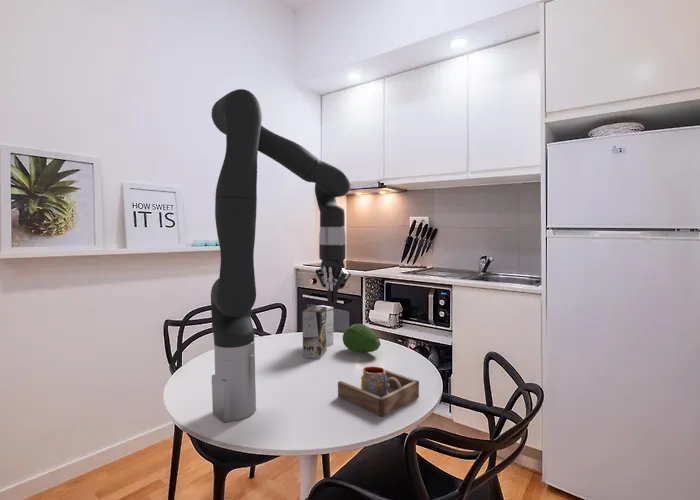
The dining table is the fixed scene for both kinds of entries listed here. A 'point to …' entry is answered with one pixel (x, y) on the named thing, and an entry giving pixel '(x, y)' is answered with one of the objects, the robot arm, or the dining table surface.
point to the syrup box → (329, 324)
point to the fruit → (360, 339)
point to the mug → (376, 381)
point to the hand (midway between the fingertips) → (332, 303)
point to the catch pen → (384, 403)
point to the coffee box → (314, 332)
